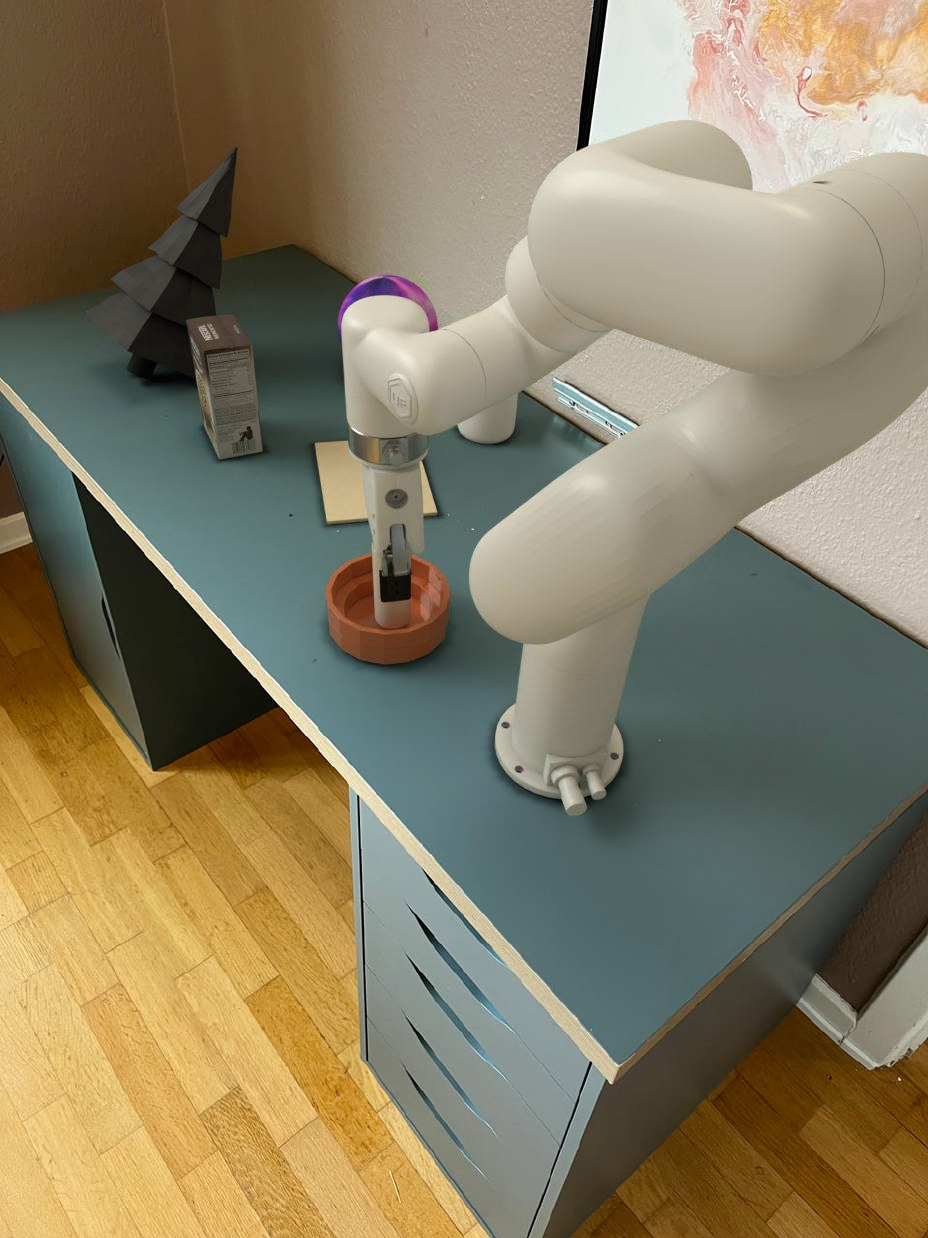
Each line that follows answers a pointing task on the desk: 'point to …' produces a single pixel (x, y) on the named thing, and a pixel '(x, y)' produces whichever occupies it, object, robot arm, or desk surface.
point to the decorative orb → (392, 288)
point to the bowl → (357, 613)
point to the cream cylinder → (389, 612)
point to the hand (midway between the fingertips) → (392, 583)
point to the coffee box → (226, 384)
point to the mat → (351, 484)
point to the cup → (491, 423)
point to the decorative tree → (172, 281)
